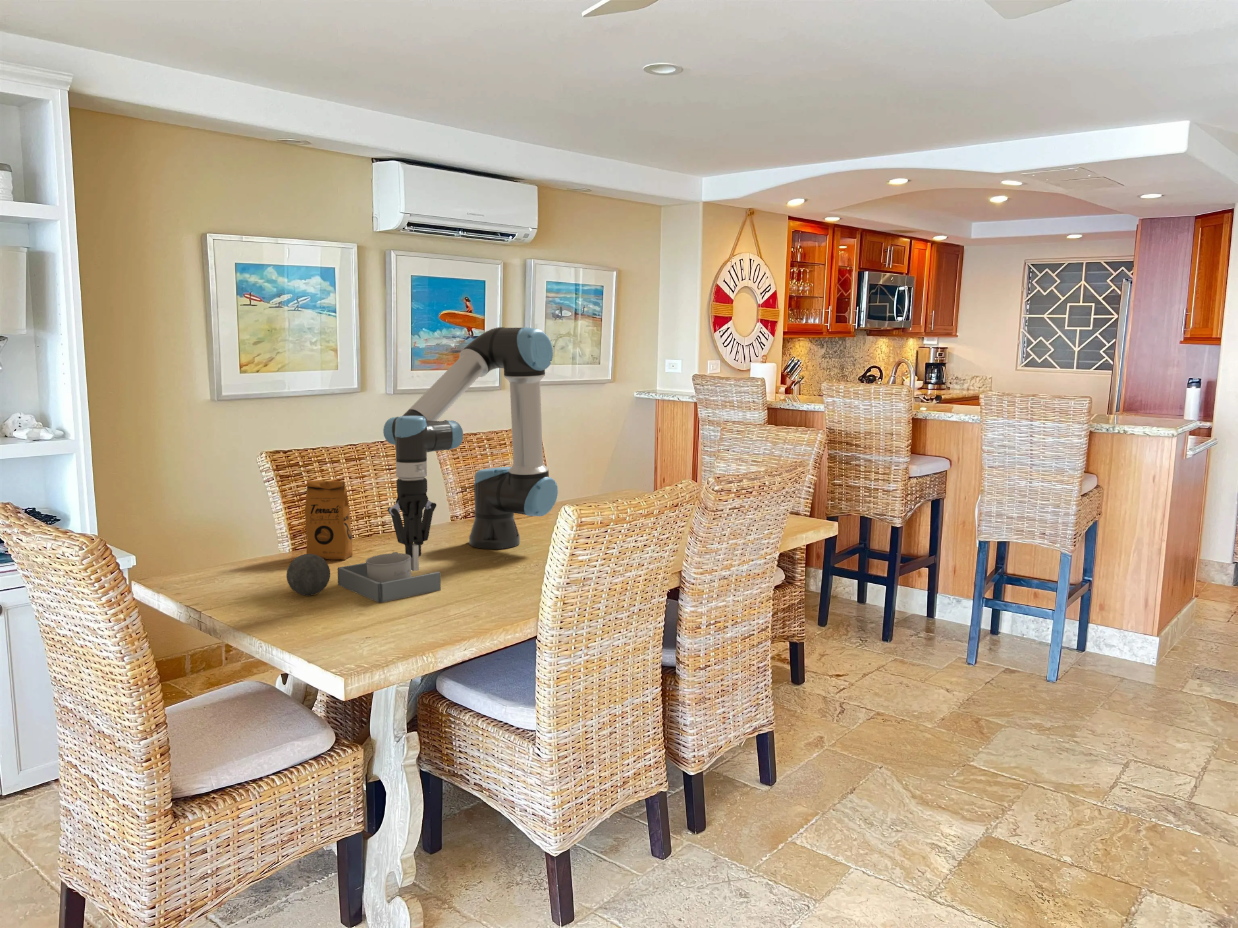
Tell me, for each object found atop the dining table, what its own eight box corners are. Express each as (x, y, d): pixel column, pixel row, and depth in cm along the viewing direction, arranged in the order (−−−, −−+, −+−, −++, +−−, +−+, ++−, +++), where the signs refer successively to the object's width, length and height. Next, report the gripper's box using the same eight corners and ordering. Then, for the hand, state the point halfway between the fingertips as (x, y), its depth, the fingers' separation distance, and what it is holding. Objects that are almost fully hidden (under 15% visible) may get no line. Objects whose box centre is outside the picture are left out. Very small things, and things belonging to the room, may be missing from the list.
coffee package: (345, 562, 256) (343, 483, 253) (301, 561, 257) (298, 482, 254) (358, 554, 266) (356, 478, 263) (315, 552, 267) (313, 476, 264)
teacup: (401, 596, 225) (400, 563, 224) (358, 593, 227) (358, 561, 225) (423, 581, 238) (422, 550, 237) (383, 578, 240) (382, 548, 239)
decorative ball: (327, 599, 221) (326, 558, 219) (283, 601, 219) (282, 559, 218) (333, 588, 231) (332, 548, 229) (291, 589, 229) (289, 549, 228)
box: (397, 573, 245) (397, 557, 244) (440, 589, 230) (440, 572, 230) (338, 584, 234) (337, 567, 233) (379, 602, 219) (379, 584, 218)
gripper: (396, 482, 226) (398, 576, 229) (442, 477, 235) (443, 568, 238) (380, 478, 231) (383, 571, 234) (426, 473, 240) (427, 562, 243)
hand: (413, 569), depth 236 cm, fingers closed
